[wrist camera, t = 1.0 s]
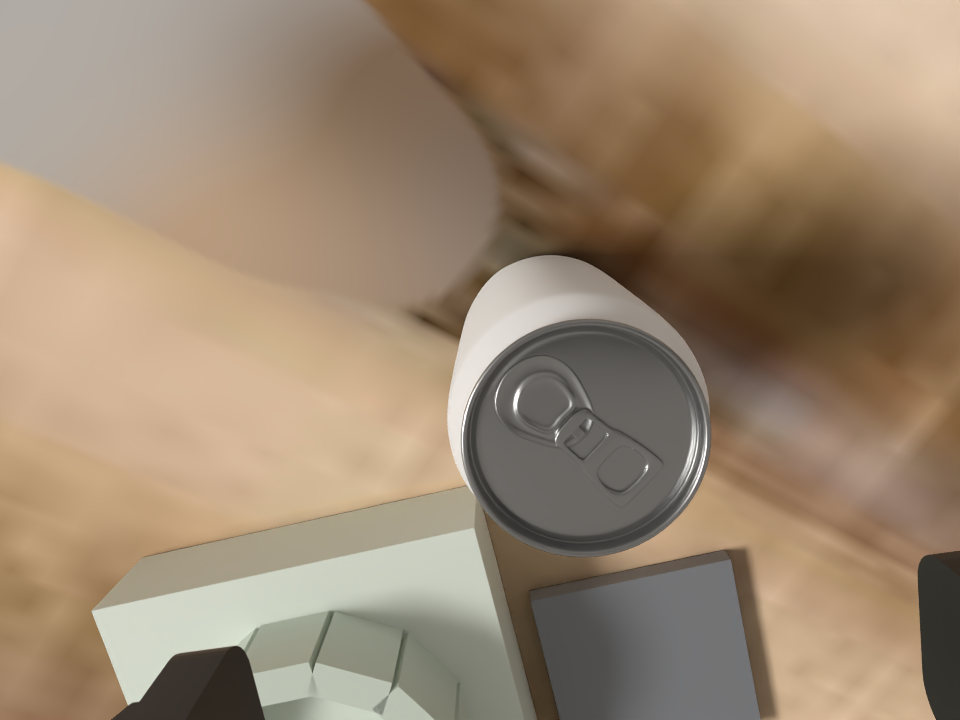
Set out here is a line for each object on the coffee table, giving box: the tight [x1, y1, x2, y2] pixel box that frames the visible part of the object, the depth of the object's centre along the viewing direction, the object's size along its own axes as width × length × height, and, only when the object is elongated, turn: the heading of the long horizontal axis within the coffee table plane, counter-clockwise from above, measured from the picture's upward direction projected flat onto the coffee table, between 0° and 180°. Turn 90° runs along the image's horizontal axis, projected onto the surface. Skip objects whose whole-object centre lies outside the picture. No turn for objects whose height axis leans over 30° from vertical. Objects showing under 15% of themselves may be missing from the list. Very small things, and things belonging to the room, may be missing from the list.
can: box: [447, 255, 711, 557], centre depth 23 cm, size 6×6×12 cm
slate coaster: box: [529, 550, 761, 720], centre depth 31 cm, size 8×8×1 cm
